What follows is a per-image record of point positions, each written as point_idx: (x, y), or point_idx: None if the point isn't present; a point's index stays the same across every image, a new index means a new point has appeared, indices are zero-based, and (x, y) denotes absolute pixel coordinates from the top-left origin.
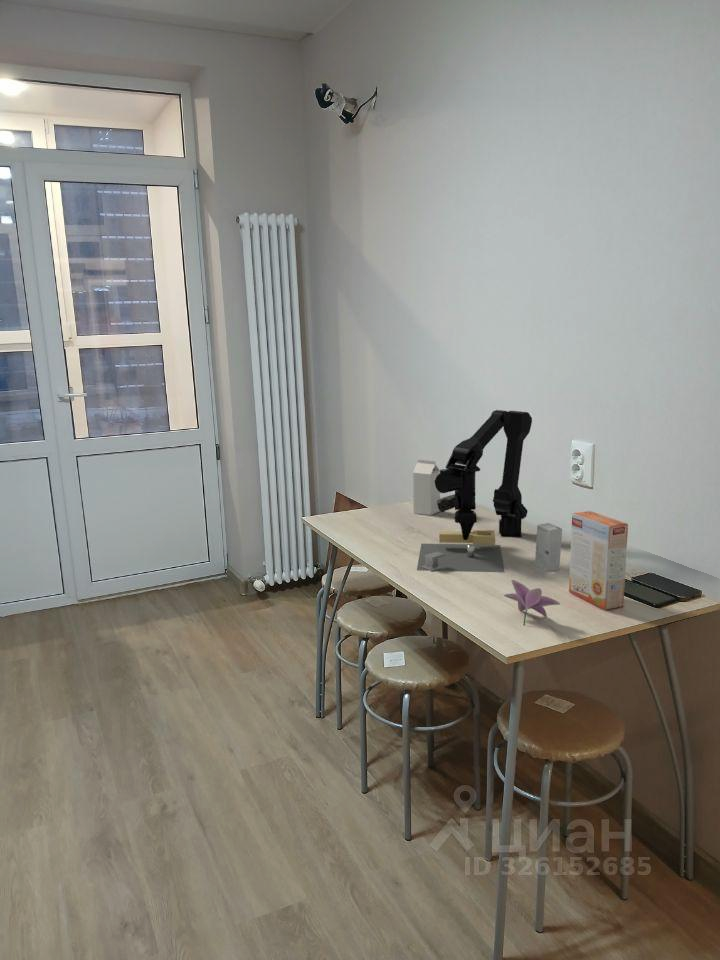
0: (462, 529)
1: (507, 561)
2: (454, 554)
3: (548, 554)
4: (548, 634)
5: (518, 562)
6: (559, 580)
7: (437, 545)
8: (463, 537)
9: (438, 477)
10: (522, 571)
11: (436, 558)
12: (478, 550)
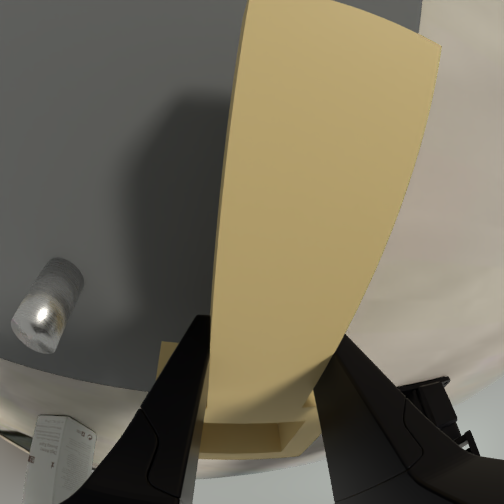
0: (135, 423)
1: (76, 383)
2: (80, 169)
3: (29, 455)
4: None
5: (81, 401)
6: (7, 409)
7: None
8: (185, 332)
9: None
10: (12, 383)
11: None
12: None
